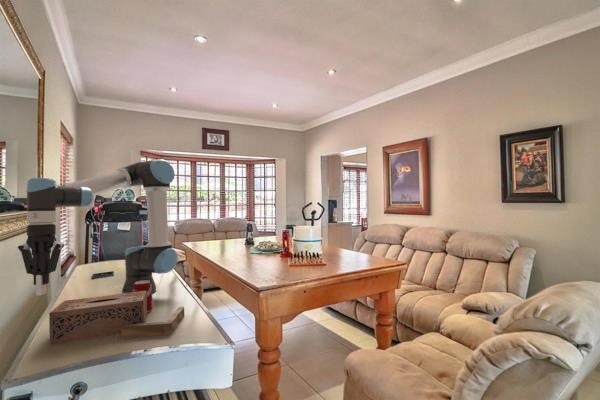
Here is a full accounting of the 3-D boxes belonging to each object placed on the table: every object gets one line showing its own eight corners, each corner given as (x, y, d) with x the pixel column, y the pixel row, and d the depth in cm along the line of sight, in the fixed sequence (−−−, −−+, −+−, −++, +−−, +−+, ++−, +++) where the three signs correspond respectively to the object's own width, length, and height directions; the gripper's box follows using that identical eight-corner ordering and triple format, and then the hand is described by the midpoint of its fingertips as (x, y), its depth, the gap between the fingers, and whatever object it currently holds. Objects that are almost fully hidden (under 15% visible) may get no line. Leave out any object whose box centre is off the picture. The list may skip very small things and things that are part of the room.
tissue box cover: (49, 345, 94) (49, 312, 95) (64, 329, 108) (64, 300, 108) (143, 330, 104) (143, 300, 104) (147, 317, 117) (146, 290, 118)
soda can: (144, 315, 119) (143, 284, 119) (129, 314, 120) (128, 283, 120) (155, 309, 125) (155, 279, 126) (141, 309, 127) (140, 279, 127)
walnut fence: (142, 319, 114) (142, 309, 114) (184, 316, 116) (184, 306, 116) (121, 338, 97) (121, 327, 97) (171, 334, 99) (171, 323, 99)
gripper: (11, 224, 100) (10, 298, 99) (55, 223, 102) (55, 296, 101) (28, 224, 107) (28, 292, 106) (69, 222, 109) (69, 290, 108)
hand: (41, 294), depth 103 cm, fingers closed
